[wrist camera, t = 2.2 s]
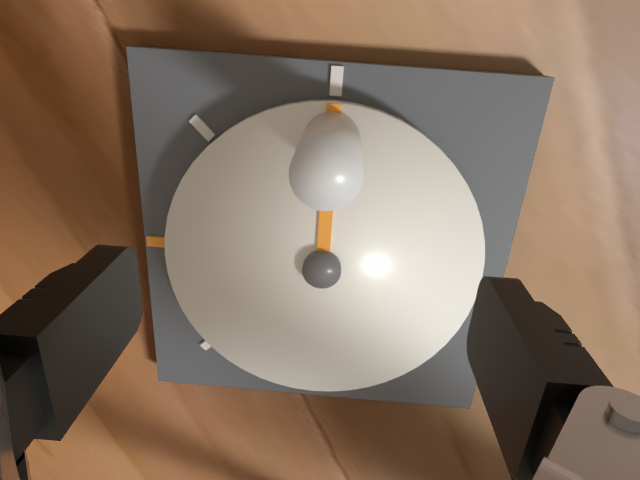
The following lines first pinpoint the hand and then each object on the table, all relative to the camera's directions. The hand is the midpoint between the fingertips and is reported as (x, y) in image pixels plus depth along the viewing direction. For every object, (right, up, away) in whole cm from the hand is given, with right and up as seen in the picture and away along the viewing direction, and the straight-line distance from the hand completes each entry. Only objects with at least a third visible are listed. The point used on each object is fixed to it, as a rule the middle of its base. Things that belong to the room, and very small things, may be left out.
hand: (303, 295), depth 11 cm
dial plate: (+1, +1, +21) cm, 22 cm away
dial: (+1, 0, +20) cm, 20 cm away
